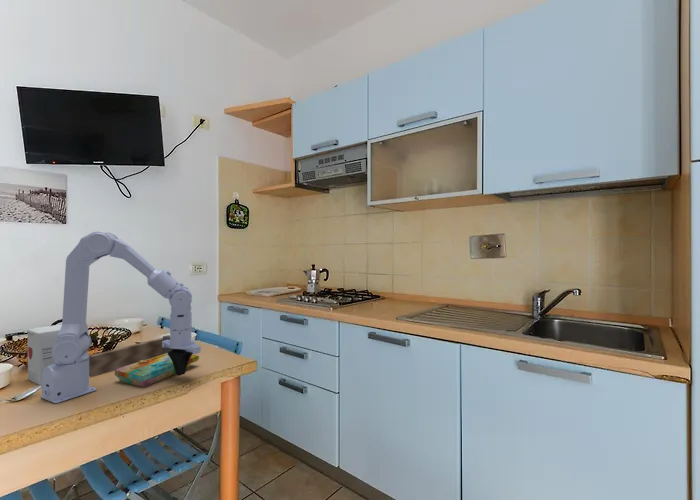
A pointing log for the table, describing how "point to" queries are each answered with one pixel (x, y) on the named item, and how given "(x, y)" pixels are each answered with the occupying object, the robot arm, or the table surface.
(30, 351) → the supplement box
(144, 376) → the puzzle game
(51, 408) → the table surface
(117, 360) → the shelf corner
